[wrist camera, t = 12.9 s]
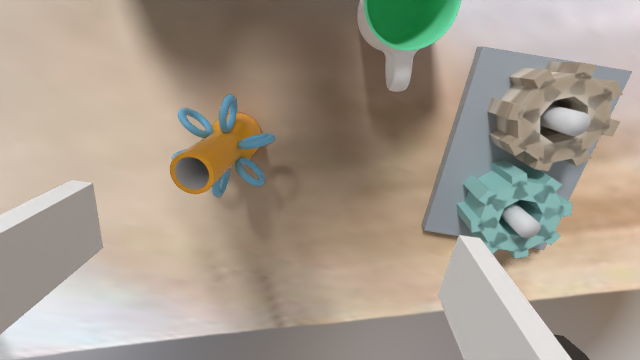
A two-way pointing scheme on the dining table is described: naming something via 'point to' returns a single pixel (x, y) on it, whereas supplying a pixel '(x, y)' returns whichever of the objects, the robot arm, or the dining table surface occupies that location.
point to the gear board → (479, 150)
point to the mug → (403, 31)
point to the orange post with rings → (218, 150)
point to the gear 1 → (536, 96)
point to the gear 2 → (503, 191)
